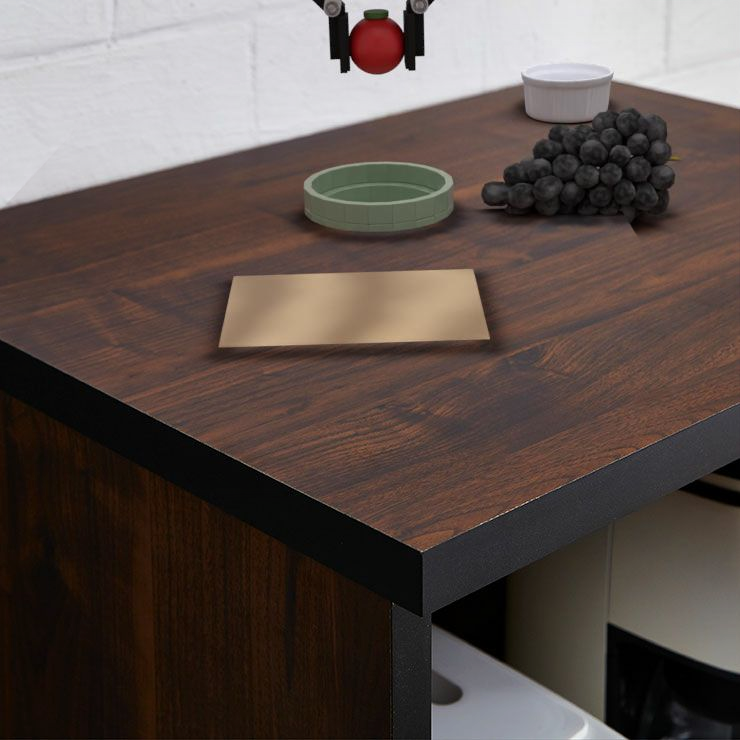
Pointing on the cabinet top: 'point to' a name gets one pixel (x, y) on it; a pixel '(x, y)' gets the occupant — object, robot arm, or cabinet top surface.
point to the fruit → (592, 169)
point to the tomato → (376, 43)
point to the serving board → (353, 308)
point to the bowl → (378, 196)
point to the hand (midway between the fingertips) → (377, 65)
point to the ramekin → (566, 91)
